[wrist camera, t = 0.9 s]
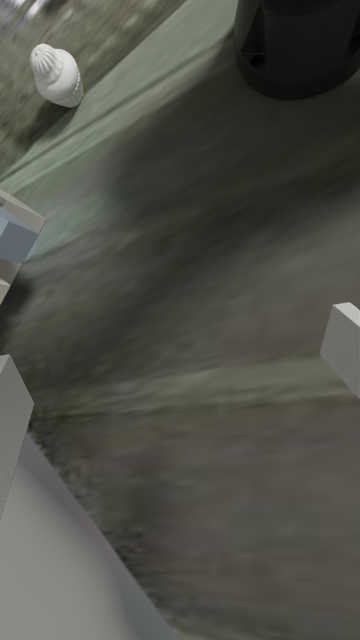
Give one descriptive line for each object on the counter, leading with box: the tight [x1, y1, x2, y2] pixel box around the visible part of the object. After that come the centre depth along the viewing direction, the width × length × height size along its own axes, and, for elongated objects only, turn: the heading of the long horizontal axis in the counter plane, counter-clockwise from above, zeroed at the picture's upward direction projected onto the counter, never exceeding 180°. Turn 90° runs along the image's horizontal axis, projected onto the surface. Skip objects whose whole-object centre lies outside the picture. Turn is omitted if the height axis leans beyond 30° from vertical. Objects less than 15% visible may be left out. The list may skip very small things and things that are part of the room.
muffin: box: [30, 44, 83, 108], centre depth 38 cm, size 6×6×7 cm
